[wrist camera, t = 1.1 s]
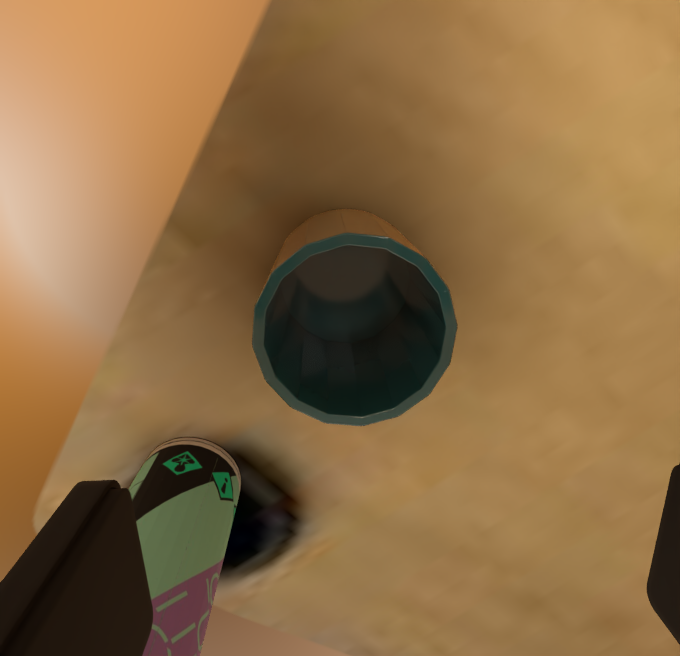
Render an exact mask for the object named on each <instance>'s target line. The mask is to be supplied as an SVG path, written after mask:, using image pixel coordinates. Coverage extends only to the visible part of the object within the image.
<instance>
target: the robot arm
mask: <svg viewBox="0 0 680 656" xmlns="http://www.w3.org/2000/svg"><path fill="white" fill-rule="evenodd" d="M647 594H648V598H649V601H650V603H651V606H652V607H653V609H654V610H655V612H656V613H657V614H658V616H659V617H660V619H661V620H662V621H663V623H664V624H665V625H666V627H667V628H668V629H669V631H670V632H671V633H672V635H673V636H674V638H675V639H676V640H677V642H678V643H679V644H680V464H679V465H677V466H675V467H674V468H673V470H672V473H671V477H670V481H669V486H668V490H667V495H666V500H665V504H664V509H663V513H662V518H661V522H660V527H659V532H658V536H657V541H656V545H655V550H654V554H653V559H652V563H651V568H650V573H649V577H648V582H647ZM152 624H153V606H152V601H151V596H150V591H149V585H148V580H147V575H146V570H145V565H144V560H143V554H142V549H141V544H140V539H139V534H138V528H137V523H136V518H135V513H134V508H133V503H132V497H131V494H130V491H129V490H128V489H126V488H122V489H121V487H120V485H119V483H118V482H117V481H115V480H101V481H82V482H79V483H77V484H76V485H75V486H74V488H73V489H72V490H71V491H70V493H69V494H68V495H67V497H66V498H65V499H64V501H63V502H62V503H61V505H60V506H59V507H58V508H57V510H56V511H55V512H54V514H53V515H52V516H51V518H50V519H49V520H48V522H47V523H46V524H45V525H44V527H43V528H42V529H41V531H40V532H39V533H38V535H37V536H36V537H35V539H34V540H33V541H32V542H31V544H30V545H29V547H28V548H27V549H26V550H25V552H24V553H23V554H22V556H21V557H20V558H19V560H18V561H17V562H16V564H15V565H14V566H13V567H12V569H11V570H10V571H9V573H8V574H7V575H6V577H5V578H4V579H3V580H2V581H1V582H0V656H142V655H143V652H144V649H145V647H146V644H147V641H148V638H149V636H150V632H151V629H152Z"/></svg>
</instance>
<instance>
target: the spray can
mask: <svg viewBox="0 0 680 656" xmlns="http://www.w3.org/2000/svg"><path fill="white" fill-rule="evenodd" d="M240 487H241V476H240V472H239V469H238V467H237V465H236V463H235V461H234V460H233V458H232V457H231V456H230V455H229V454H228V453H227V452H226V451H225V450H224V449H222V448H221V447H219V446H217V445H216V444H214V443H212V442H209V441H206V440H203V439H197V438H179V439H173V440H171V441H168V442H165V443H163V444H162V445H160V446H158V447H157V448H156V449H155V450H154V451H153V452H151V454H150V455H149V456H148V458H147V459H146V461H145V462H144V464H143V465H142V467H141V469H140V470H139V472H138V474H137V475H136V477H135V479H134V481H133V482H132V484H131V486H130V488H129V489H128V490H129V491H130V494H131V497H132V503H133V508H134V513H135V518H136V523H137V528H138V534H139V539H140V544H141V549H142V554H143V560H144V565H145V570H146V575H147V580H148V585H149V591H150V596H151V601H152V606H153V624H152V629H151V632H150V636H149V638H148V641H147V644H146V647H145V649H144V652H143V655H142V656H200V653H201V649H202V645H203V641H204V636H205V632H206V628H207V624H208V620H209V616H210V612H211V608H212V604H213V600H214V596H215V592H216V588H217V584H218V579H219V575H220V571H221V567H222V563H223V559H224V555H225V551H226V547H227V543H228V539H229V535H230V531H231V527H232V522H233V518H234V514H235V510H236V506H237V502H238V498H239V493H240Z"/></svg>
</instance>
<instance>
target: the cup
mask: <svg viewBox="0 0 680 656" xmlns="http://www.w3.org/2000/svg"><path fill="white" fill-rule="evenodd" d="M456 332H457V321H456V317H455V312H454V308H453V303H452V299H451V294H450V290H449V288H448V286H447V285H446V284H445V282H444V281H443V280H442V278H441V277H440V276H439V274H438V273H437V272H436V270H435V269H434V268H433V266H432V265H431V264H430V263H429V261H428V260H427V259H426V257H425V256H424V255H423V254H422V253H421V252H420V251H419V250H418V249H416V248H415V247H414V246H413V245H412V244H411V243H410V242H409V241H408V240H407V239H406V238H405V237H404V236H403V235H402V234H401V233H400V232H399V231H398V230H397V229H396V228H395V227H394V226H393V225H391V224H389V223H388V222H386V221H385V220H383V219H382V218H380V217H378V216H376V215H374V214H372V213H370V212H366V211H362V210H356V209H334V210H330V211H325V212H322V213H320V214H317V215H315V216H313V217H311V218H309V219H307V220H306V221H305V222H303V223H302V224H300V225H299V226H298V227H297V228H296V229H295V230H294V231H293V232H292V233H291V234H290V235H289V236H288V237H287V239H286V241H285V243H284V245H283V246H282V248H281V250H280V252H279V254H278V256H277V258H276V260H275V262H274V264H273V267H272V269H271V271H270V273H269V275H268V278H267V280H266V282H265V284H264V286H263V289H262V291H261V293H260V295H259V297H258V300H257V302H256V304H255V307H254V317H253V335H252V345H253V346H252V347H253V350H254V352H255V355H256V358H257V360H258V363H259V366H260V368H261V371H262V373H263V376H264V379H265V380H266V382H267V383H268V384H269V385H270V386H271V387H272V388H273V389H274V390H275V391H276V392H277V393H278V394H279V396H280V397H281V398H282V399H283V400H284V401H285V402H286V403H287V404H288V405H289V406H290V407H292V408H293V409H295V410H297V411H299V412H301V413H304V414H306V415H308V416H310V417H312V418H314V419H317V420H319V421H321V422H323V423H327V424H339V425H352V426H365V425H369V424H373V423H376V422H380V421H384V420H387V419H391V418H395V417H398V416H400V415H401V414H403V413H404V412H406V411H407V410H409V409H410V408H411V407H413V406H414V405H416V404H417V403H418V402H420V401H421V400H423V399H424V398H425V397H427V396H428V395H429V394H430V393H431V392H432V390H433V389H434V387H435V386H436V384H437V383H438V381H439V380H440V378H441V377H442V375H443V374H444V372H445V371H446V369H447V368H448V366H449V364H450V362H451V357H452V352H453V347H454V342H455V337H456Z"/></svg>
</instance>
